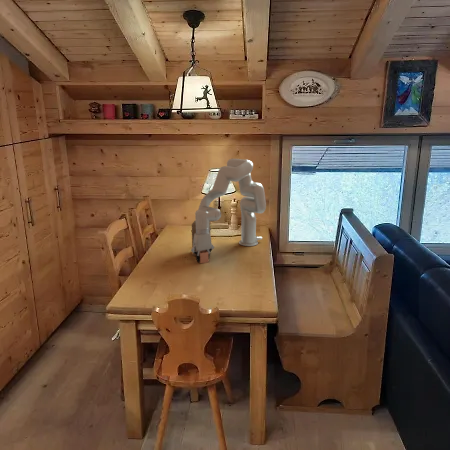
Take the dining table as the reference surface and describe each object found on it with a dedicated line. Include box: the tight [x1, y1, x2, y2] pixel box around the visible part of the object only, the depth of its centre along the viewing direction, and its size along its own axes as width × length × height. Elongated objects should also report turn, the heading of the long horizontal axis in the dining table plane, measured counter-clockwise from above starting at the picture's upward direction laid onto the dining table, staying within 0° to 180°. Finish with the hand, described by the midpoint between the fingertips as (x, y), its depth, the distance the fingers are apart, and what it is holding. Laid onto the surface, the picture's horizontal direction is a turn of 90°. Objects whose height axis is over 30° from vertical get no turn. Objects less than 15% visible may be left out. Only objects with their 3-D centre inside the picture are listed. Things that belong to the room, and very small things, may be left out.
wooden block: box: [191, 219, 211, 257], centre depth 257 cm, size 10×10×20 cm
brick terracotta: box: [199, 250, 210, 264], centre depth 245 cm, size 5×5×6 cm
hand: (202, 260), depth 246 cm, fingers closed on brick terracotta, 5 cm apart
